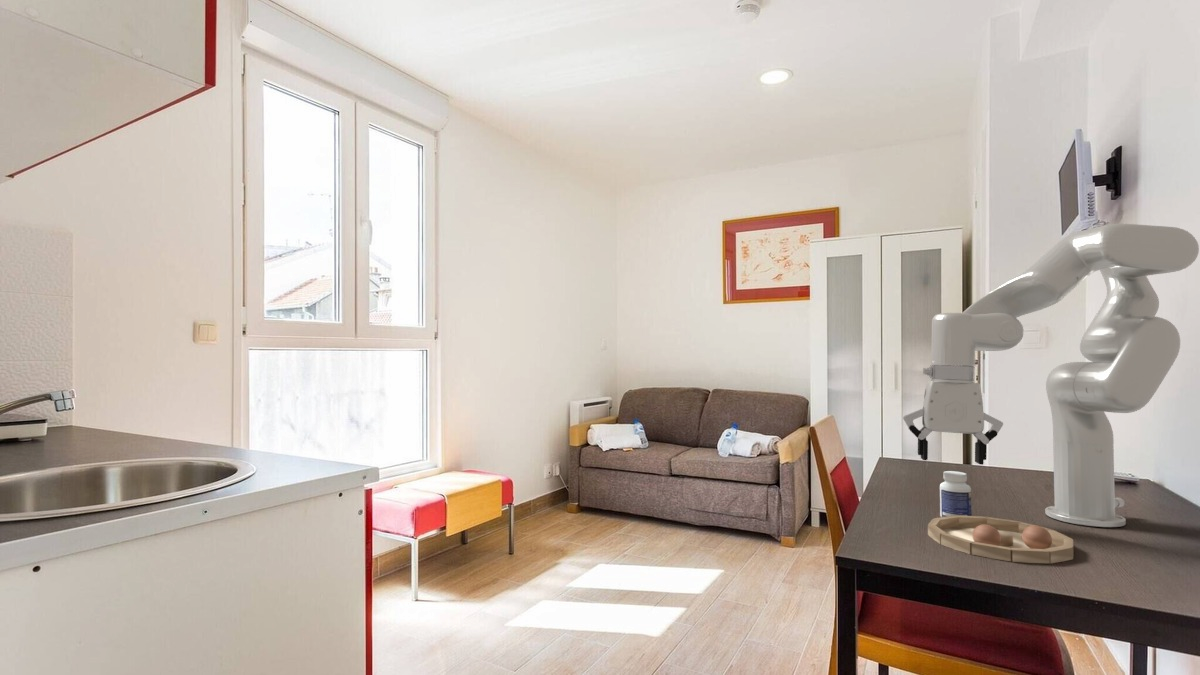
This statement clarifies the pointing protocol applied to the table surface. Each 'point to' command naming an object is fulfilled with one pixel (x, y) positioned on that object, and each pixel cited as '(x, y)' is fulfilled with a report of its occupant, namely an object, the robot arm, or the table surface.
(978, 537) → the brown egg
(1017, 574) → the table surface
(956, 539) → the groove tray
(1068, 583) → the table surface
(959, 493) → the pill bottle
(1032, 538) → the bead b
